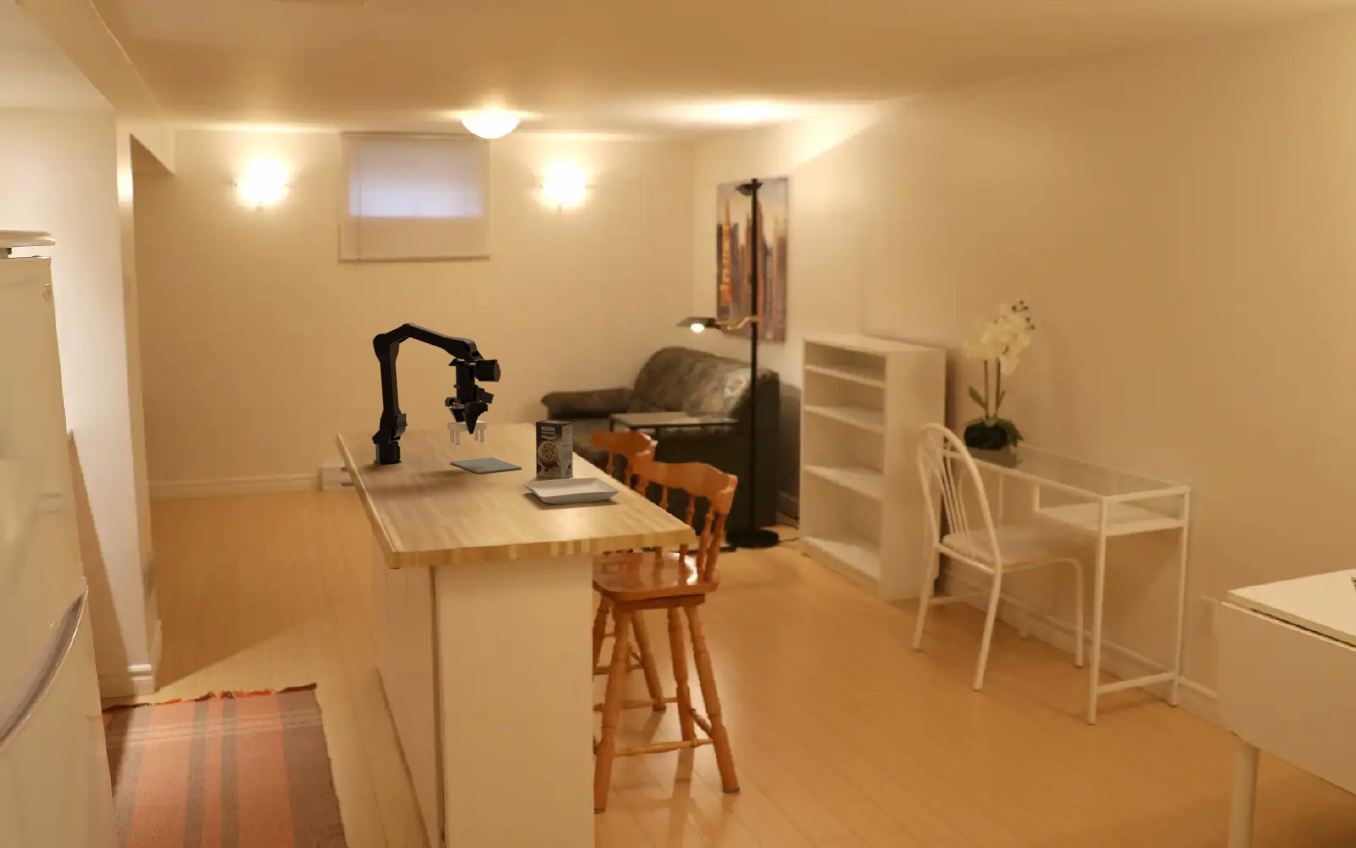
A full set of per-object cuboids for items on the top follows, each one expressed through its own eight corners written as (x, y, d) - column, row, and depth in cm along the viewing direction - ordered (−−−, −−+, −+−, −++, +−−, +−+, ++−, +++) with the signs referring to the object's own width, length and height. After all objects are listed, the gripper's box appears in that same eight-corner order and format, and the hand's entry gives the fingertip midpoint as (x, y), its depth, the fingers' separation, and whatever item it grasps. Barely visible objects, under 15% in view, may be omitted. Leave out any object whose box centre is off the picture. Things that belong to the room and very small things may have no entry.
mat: (478, 474, 349) (478, 472, 349) (450, 463, 365) (450, 461, 365) (521, 469, 357) (521, 467, 357) (492, 459, 373) (492, 457, 373)
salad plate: (522, 493, 325) (522, 480, 324) (597, 487, 332) (597, 475, 332) (541, 509, 305) (541, 496, 305) (620, 503, 313) (620, 490, 312)
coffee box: (535, 476, 345) (534, 421, 343) (547, 473, 351) (547, 418, 349) (561, 479, 341) (561, 423, 339) (573, 476, 347) (573, 421, 345)
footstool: (455, 445, 356) (455, 425, 355) (447, 442, 361) (447, 422, 360) (486, 442, 361) (486, 422, 360) (478, 439, 366) (477, 420, 365)
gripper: (503, 382, 355) (504, 434, 357) (477, 376, 370) (478, 426, 373) (469, 384, 349) (470, 437, 351) (443, 379, 364) (444, 429, 366)
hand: (466, 432), depth 360 cm, fingers closed on footstool, 6 cm apart
